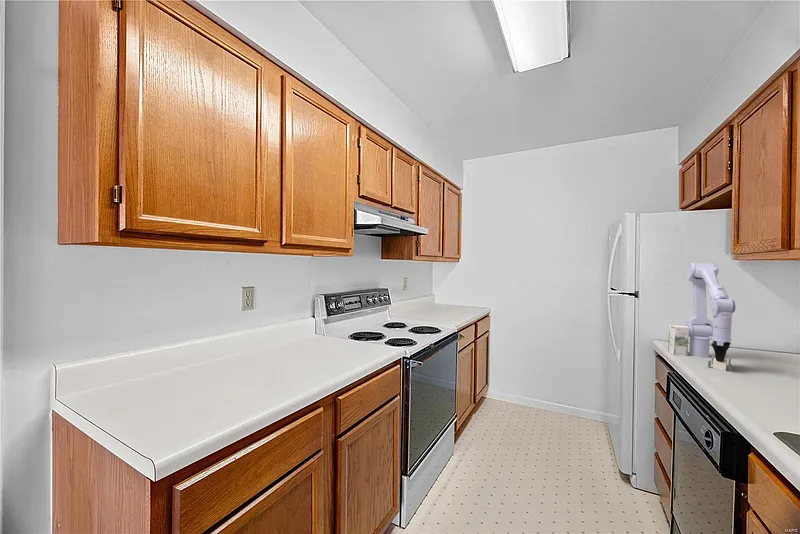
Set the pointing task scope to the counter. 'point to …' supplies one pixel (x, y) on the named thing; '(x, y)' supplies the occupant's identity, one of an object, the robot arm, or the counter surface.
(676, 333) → the syrup box
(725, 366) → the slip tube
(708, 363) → the socket
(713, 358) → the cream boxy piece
